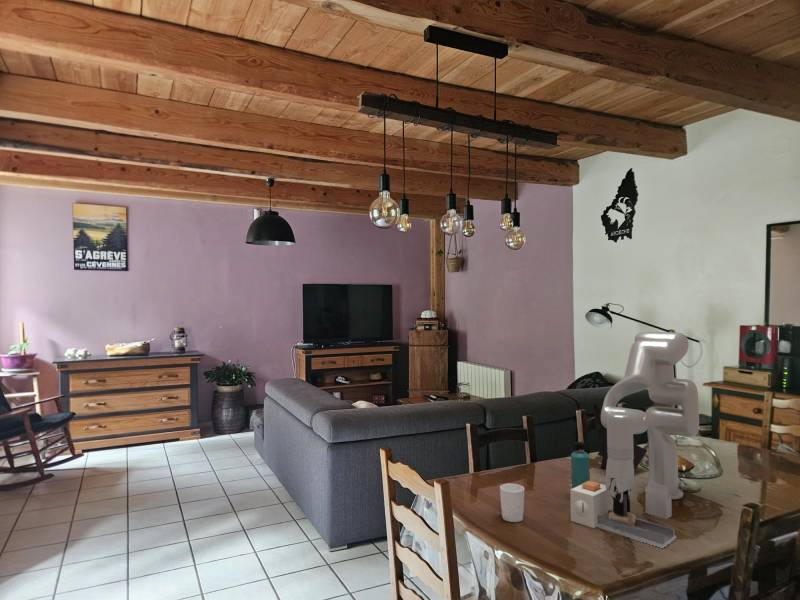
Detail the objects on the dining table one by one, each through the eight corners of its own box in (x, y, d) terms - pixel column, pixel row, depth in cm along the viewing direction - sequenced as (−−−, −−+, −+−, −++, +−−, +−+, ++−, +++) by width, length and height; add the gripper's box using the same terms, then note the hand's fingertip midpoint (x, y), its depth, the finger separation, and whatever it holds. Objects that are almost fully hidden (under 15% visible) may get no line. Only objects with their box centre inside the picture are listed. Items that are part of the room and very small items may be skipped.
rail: (610, 519, 167) (610, 509, 167) (675, 539, 152) (675, 528, 152) (596, 527, 162) (596, 516, 162) (662, 548, 146) (662, 537, 146)
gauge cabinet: (590, 510, 174) (589, 480, 175) (613, 517, 168) (612, 486, 169) (570, 521, 166) (569, 489, 167) (593, 528, 160) (592, 496, 160)
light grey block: (666, 519, 166) (665, 488, 166) (645, 513, 172) (645, 483, 172) (671, 516, 169) (671, 486, 169) (651, 510, 174) (650, 480, 174)
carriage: (616, 518, 164) (615, 490, 164) (635, 524, 159) (634, 495, 159) (608, 523, 161) (608, 494, 161) (627, 529, 156) (627, 499, 156)
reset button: (589, 492, 170) (588, 480, 171) (600, 496, 167) (600, 483, 167) (582, 495, 168) (582, 483, 168) (594, 499, 165) (593, 486, 165)
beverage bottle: (592, 502, 182) (590, 445, 182) (572, 501, 183) (571, 444, 184) (589, 495, 188) (588, 440, 189) (570, 494, 190) (569, 439, 190)
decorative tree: (604, 474, 222) (569, 413, 212) (622, 449, 228) (588, 389, 218) (634, 483, 209) (598, 419, 200) (652, 457, 215) (618, 394, 206)
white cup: (497, 514, 173) (496, 484, 173) (520, 512, 174) (519, 482, 174) (504, 523, 165) (503, 492, 165) (528, 522, 166) (527, 491, 166)
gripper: (621, 445, 168) (622, 502, 168) (595, 455, 158) (596, 516, 158) (644, 450, 163) (645, 509, 162) (619, 461, 152) (620, 523, 152)
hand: (621, 511), depth 160 cm, fingers closed on carriage, 3 cm apart
